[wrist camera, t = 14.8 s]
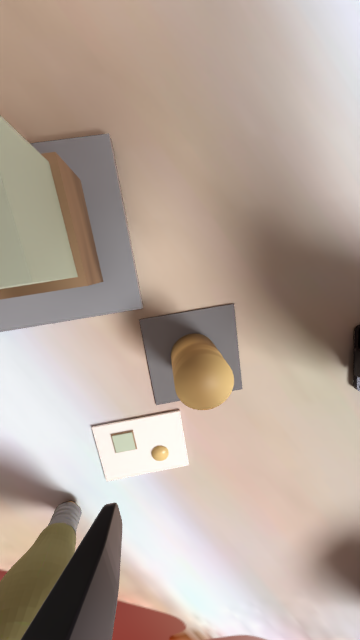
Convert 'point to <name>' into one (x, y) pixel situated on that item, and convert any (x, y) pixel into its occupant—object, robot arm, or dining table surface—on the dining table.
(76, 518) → the light bulb
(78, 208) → the walnut block
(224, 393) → the ochre peg
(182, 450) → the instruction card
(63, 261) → the sage block
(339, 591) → the dining table surface
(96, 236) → the plate
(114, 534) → the robot arm
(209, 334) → the charcoal pad
